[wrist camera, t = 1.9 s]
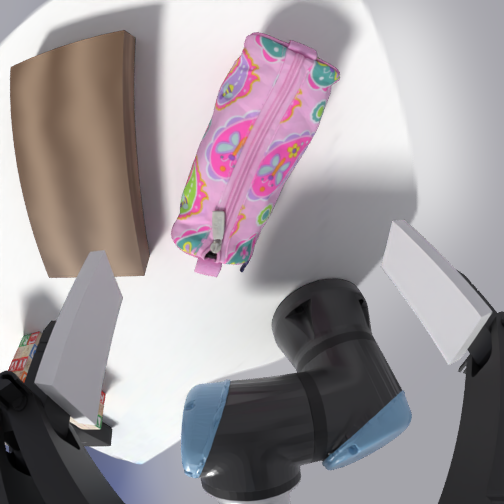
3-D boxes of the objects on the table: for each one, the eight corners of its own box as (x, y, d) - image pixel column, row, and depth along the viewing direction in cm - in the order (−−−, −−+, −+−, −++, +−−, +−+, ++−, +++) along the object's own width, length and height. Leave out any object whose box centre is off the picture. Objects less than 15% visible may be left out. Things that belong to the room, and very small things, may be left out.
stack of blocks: (106, 393, 48) (100, 442, 38) (87, 395, 49) (79, 441, 38) (39, 330, 37) (17, 386, 26) (22, 335, 37) (1, 386, 27)
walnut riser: (135, 37, 19) (124, 30, 16) (149, 255, 32) (144, 275, 29) (30, 66, 17) (10, 67, 14) (60, 259, 30) (49, 277, 27)
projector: (69, 400, 50) (57, 469, 34) (114, 427, 59) (110, 488, 43) (36, 405, 52) (25, 461, 36) (76, 430, 61) (70, 482, 45)
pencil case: (242, 243, 33) (253, 293, 26) (168, 221, 30) (156, 267, 23) (324, 76, 24) (368, 75, 16) (243, 38, 21) (259, 15, 13)
